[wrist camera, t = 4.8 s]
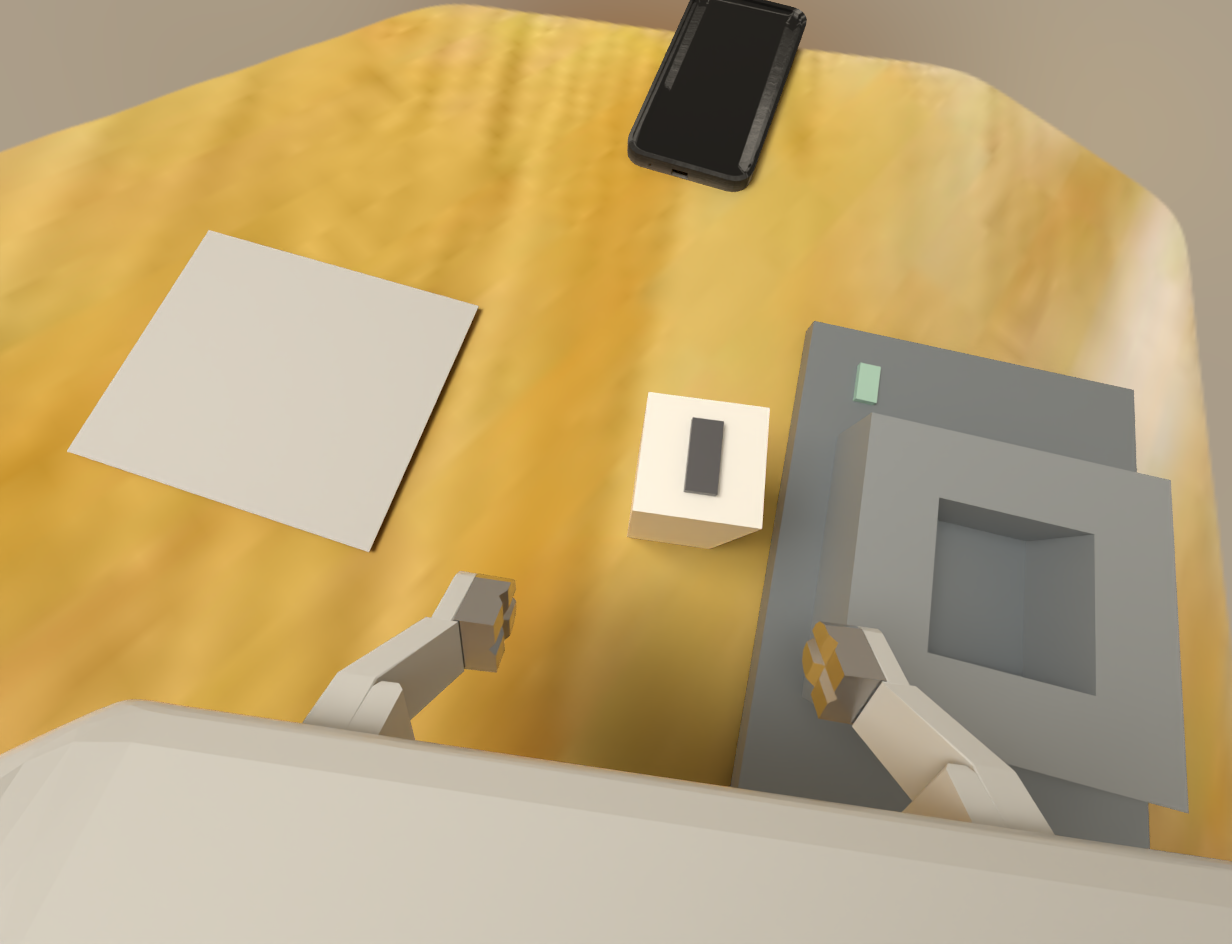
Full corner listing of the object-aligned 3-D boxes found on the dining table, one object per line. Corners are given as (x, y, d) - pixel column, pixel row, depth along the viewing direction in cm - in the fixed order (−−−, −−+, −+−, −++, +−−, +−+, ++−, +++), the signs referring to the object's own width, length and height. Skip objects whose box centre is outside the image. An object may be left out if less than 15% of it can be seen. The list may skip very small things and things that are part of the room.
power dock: (1124, 948, 17) (1270, 1053, 13) (723, 830, 18) (751, 896, 15) (1111, 398, 23) (1212, 360, 19) (806, 331, 24) (842, 283, 20)
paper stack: (293, 120, 28) (286, 108, 28) (670, 216, 26) (671, 206, 26) (82, 454, 23) (66, 450, 22) (536, 606, 21) (533, 607, 20)
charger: (709, 549, 21) (765, 527, 13) (626, 537, 21) (632, 508, 13) (716, 469, 22) (772, 404, 14) (637, 458, 22) (649, 388, 14)
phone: (810, 11, 29) (748, 185, 26) (803, 32, 30) (743, 201, 27) (695, -18, 30) (620, 148, 26) (693, 4, 31) (620, 165, 27)
